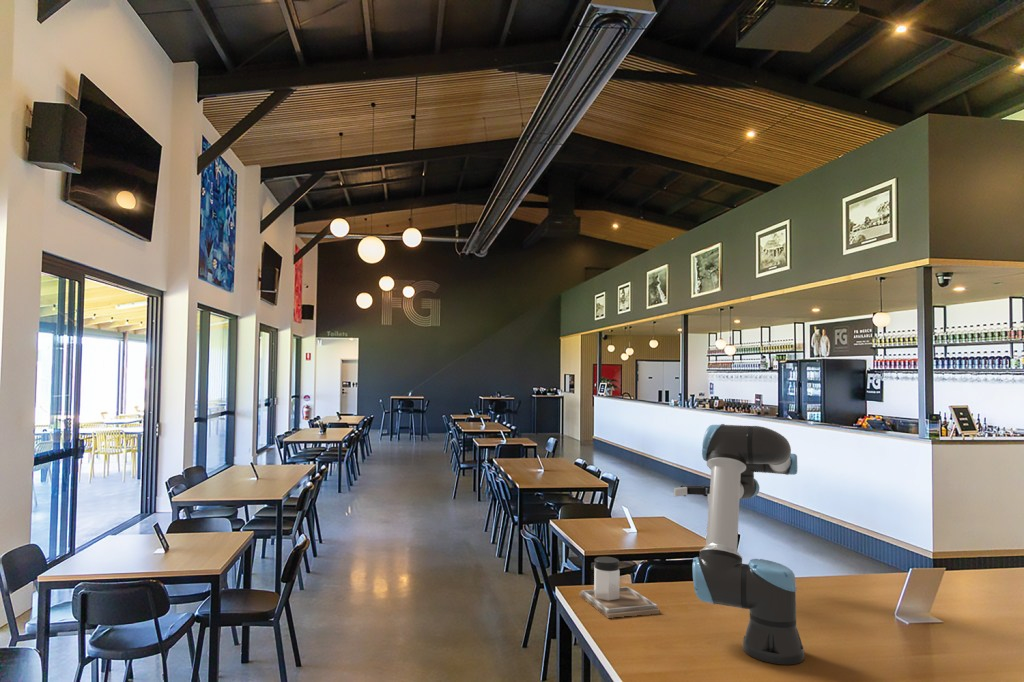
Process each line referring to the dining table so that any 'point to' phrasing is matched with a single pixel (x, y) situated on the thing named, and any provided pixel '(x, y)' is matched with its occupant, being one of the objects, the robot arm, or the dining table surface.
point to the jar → (606, 578)
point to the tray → (622, 603)
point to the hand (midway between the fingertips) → (691, 495)
